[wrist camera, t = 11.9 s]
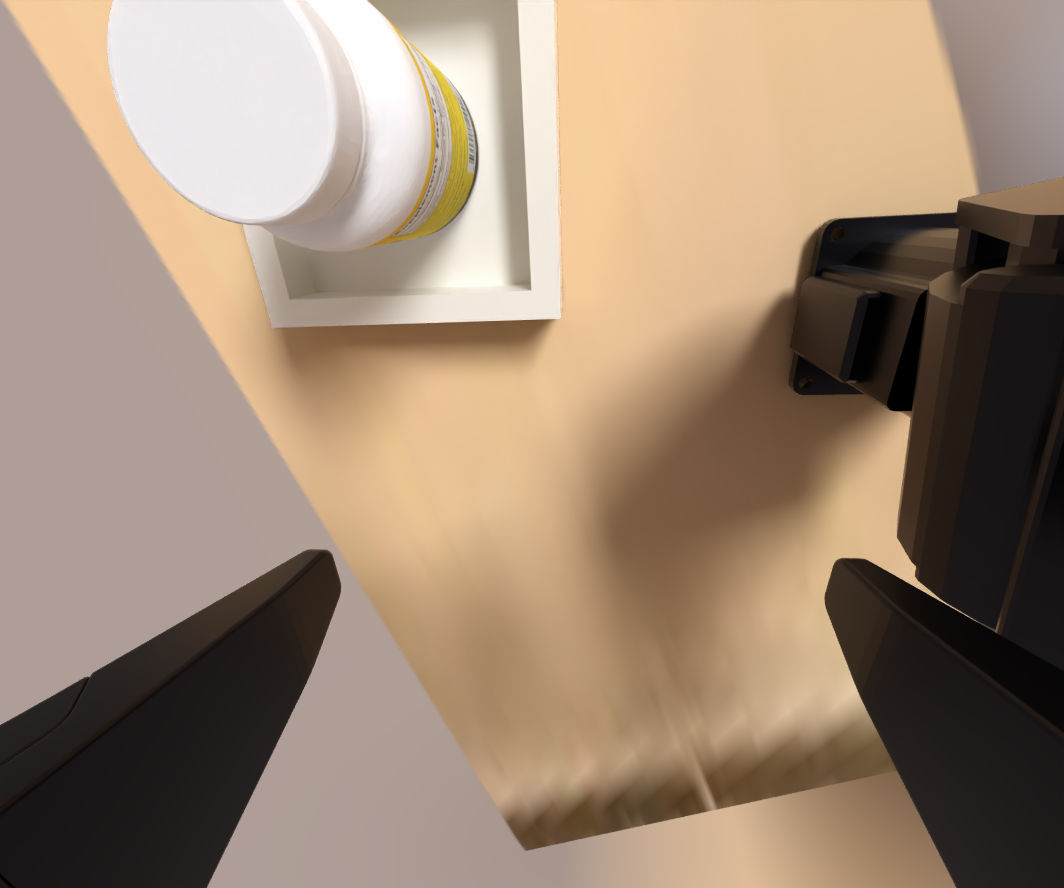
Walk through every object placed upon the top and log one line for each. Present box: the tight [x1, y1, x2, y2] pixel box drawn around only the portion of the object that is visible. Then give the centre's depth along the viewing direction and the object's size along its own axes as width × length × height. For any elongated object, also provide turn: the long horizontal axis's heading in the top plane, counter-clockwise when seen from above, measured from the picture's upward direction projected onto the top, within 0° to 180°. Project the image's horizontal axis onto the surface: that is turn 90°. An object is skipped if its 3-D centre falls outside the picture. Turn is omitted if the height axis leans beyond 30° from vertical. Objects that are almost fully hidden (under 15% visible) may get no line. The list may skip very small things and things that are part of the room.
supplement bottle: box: [107, 0, 480, 252], centre depth 12 cm, size 5×5×10 cm
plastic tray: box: [242, 0, 563, 328], centre depth 16 cm, size 11×11×2 cm
